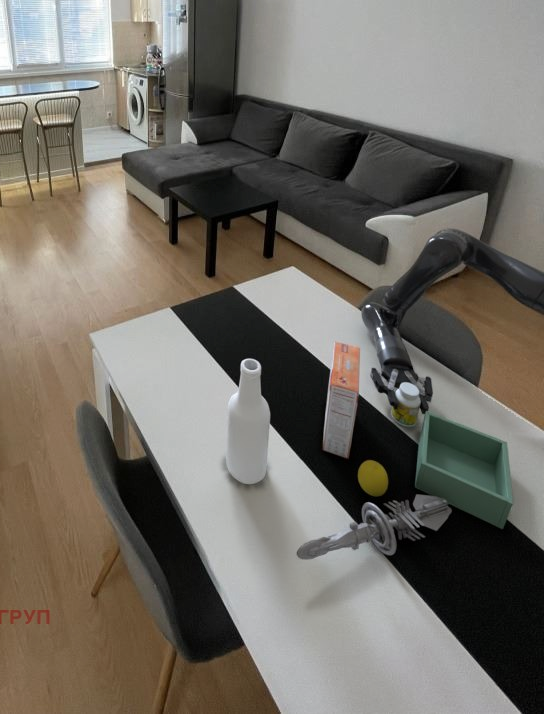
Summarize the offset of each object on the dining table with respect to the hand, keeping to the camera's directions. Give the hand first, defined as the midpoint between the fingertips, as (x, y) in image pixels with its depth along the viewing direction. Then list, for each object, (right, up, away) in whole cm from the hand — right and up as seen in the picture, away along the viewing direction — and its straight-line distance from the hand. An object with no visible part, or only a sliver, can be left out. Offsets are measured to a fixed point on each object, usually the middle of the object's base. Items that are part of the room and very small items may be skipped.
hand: (410, 408), depth 101 cm
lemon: (-15, -12, -11) cm, 22 cm away
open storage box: (+4, -10, -9) cm, 14 cm away
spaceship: (-19, -15, -19) cm, 31 cm away
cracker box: (-16, -7, +3) cm, 18 cm away
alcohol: (-40, -11, -4) cm, 42 cm away
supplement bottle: (+1, -5, +5) cm, 7 cm away
